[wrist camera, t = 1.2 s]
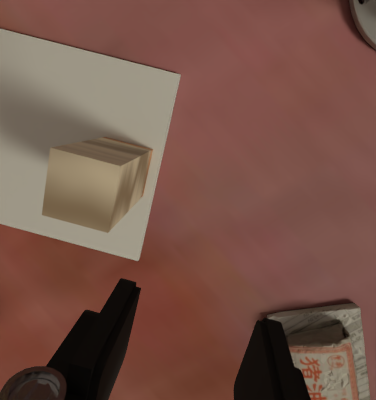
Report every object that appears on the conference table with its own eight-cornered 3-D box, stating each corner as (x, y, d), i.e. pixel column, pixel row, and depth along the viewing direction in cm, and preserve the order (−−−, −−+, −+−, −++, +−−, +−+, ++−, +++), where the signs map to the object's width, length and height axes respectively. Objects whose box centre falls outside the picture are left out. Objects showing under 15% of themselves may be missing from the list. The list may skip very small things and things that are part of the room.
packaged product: (389, 466, 35) (297, 473, 36) (370, 425, 40) (288, 432, 41) (375, 326, 31) (271, 339, 32) (354, 298, 35) (264, 311, 37)
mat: (-8, 27, 31) (-12, 25, 31) (180, 75, 31) (180, 74, 30) (-21, 215, 37) (-24, 217, 36) (139, 258, 36) (138, 261, 36)
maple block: (105, 136, 32) (50, 147, 22) (153, 149, 32) (120, 166, 22) (97, 183, 34) (41, 215, 23) (143, 195, 34) (107, 232, 23)
